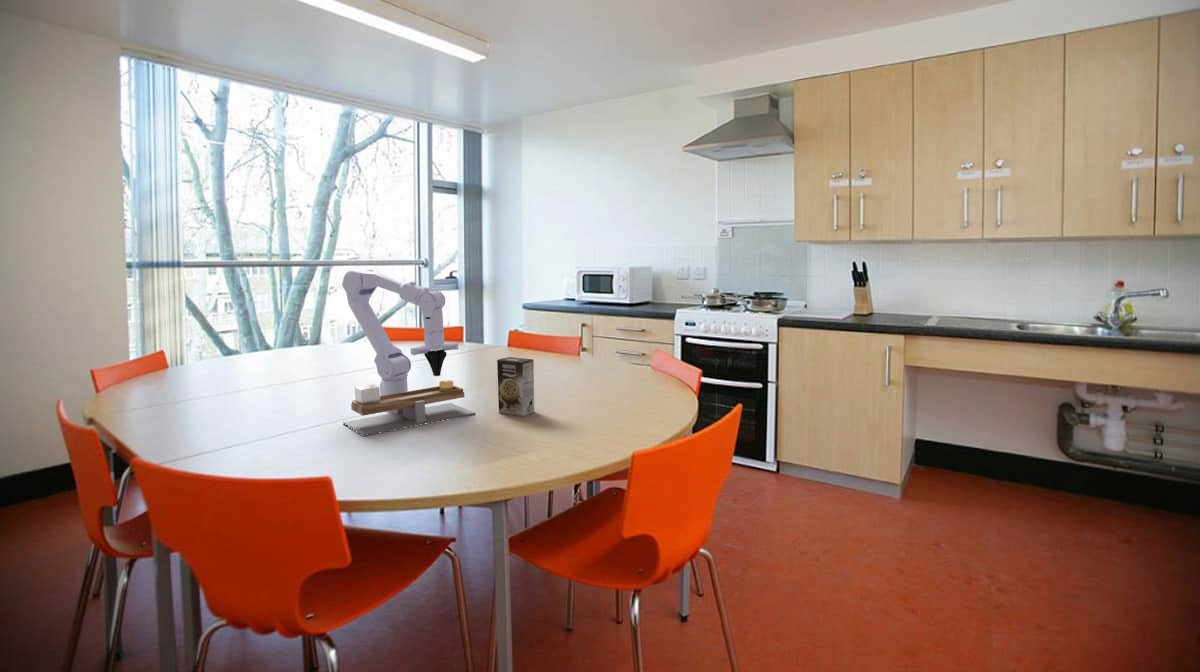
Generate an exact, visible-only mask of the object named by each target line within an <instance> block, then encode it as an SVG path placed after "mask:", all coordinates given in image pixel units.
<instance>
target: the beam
mask: <svg viewBox="0 0 1200 672" xmlns="http://www.w3.org/2000/svg"><path fill="white" fill-rule="evenodd" d="M453 388H454V390H452V391H446V392H440V385H438V386H432V387H426V388H420V389H419V388H418V389H415V390H408V391H407V392H401V393H395V394H389V395H383V396H380V403H377V404H371V405H365V406H364V405H362V404H360V403H358V402H356V399H355V400H354V399H353V400H352V401H351V404H350V408H351V411H353V412H355V413H357V414H359V415H361V416H362V417H363V416H368V415H375V414H379V413H380V414H381V413H384V412H392V411H396V410H397V409H402V408H408V407H413V406H415V402H416V401H422V400H423V401H425V405H428V404H435V403H440V402H447V401H450V400H457V399H462V398H465V397H466V396H465V392H464V388H463V387H459V386H456V385H455V384H453Z"/></svg>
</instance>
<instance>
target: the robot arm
mask: <svg viewBox="0 0 1200 672" xmlns="http://www.w3.org/2000/svg"><path fill="white" fill-rule="evenodd" d="M341 286H342V289H343V290H344V292H345V294H346V297H347V298H346V299H347V303H348V304H347V305H348V306H349V308H350V310H351V312H352V314H353V315H354V317H355V319H356V320H357V322H358V324H359V326H360V328H361V329H362V330H363V332H364V334H365V336H366V338H367V340H368V341H369V343H370V345H371V346H372V349H374V351H375V353H376V355H375V357H374V359H373V362H374V363H375V366H376V370H377V374H378V376H380V378H381V381H380V383H379V390H380V396H383V395H389V394H395V393H401V392H407V391H409V389H408V374H409V372H410V371H411V368H412V362H411V360H410V358H409V356H407V355H405V353H403V350H402V349H400V348H398V347H397V346H395V345H394V344H393V343H392V341H391V339H390V338H389V336H388V334H387V333H386V331H385V329H384V327H383V325H382V324H381V322H380V320H379V319H378V317H377V314H376V313H375V311H374V310H373V308H372V306H371V305H370V304H371V303H369V302H370V299H371V297H372V296H373V294H374V292H375V291H376V290H377V288H381V289H384V290H387V291H389V292H393V293H395V294H398V295H399V297H400V300H403V301H405V302H408V303H410V304H413V305H415V306H418V307H419V309H420V311H421V315H422V322H423V334H424V345H421V346H417V347H411V348H410V355H411V356H418V355H422V354H423V355H424V357H425V358H426V360H427V361H428V364H429V366H430V368H431V371H432V376H434V377H441V372H442V368H443V363H444V361H445V359H446V357H447V352H446V351H452V350H459V343H458V342H449V343H448V342H447V343H445V333H444V318H443V315H444V314H443V308H444V306H445V304H446V297H445V295H444V293H442V292H441V291H439V290H438V289H434V290H432V291H431V290H430V288H429V287H427V286H426V287H423V286H421V285H419V284H417V282H416V281H414V280H412V281H407V282H404V283H403V282H400V281H398V280H396V279H394V278H392V277H390V276H387V275H385V274H382V273H381V272H379V271H375V270H373V269H366V270H349V271H347V272H346V273H345V274H344V276H343V280H342V284H341Z"/></svg>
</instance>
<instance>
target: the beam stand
mask: <svg viewBox="0 0 1200 672" xmlns="http://www.w3.org/2000/svg"><path fill="white" fill-rule="evenodd" d="M475 415H476V412H475V411H472V410H470V409H467V408H465V407H463V406H460V405H457V404H454V403H452V402H449V403H448V402H447V403H443V404H438V405H437V404H436V405H431V406H427V407H426V404H425V401H423V400H422V401H416V402H415V406H413V407H408V408H402V409H397V410H395V412H391V413H387V414H381V415H374V416H369V417H364V418H358V419H352V420H345V421H342V424H343V423H344V424H346V425H347V426H349V427H350V428H352V429H354V430H355V431H357V432H358V433H360V434H362V435H367V434H373V435H375V434H374V433H378V434H380V433H379V432H383V433H386V432H385V431H388V432H391V431H390V430H394V429H399V430H401V429H400V428H404V427H409V428H411V427H410V426H414V427H416V426H415V425H419V426H421V425H420V424H424V425H426V424H425V423H430V424H432V423H431V422H435V423H438V422H437V421H440V422H443V421H442V420H445V421H448V420H447V419H450V420H454V418H455V419H459V417H460V418H465V416H466V417H469V416H475ZM344 424H343V425H344ZM347 426H346V427H347ZM350 428H349V429H350ZM352 429H351V430H352ZM404 429H405V428H404ZM355 431H354V432H355ZM394 431H395V430H394ZM358 433H357V434H358ZM360 434H359V435H360Z"/></svg>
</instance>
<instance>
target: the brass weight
mask: <svg viewBox="0 0 1200 672" xmlns="http://www.w3.org/2000/svg"><path fill="white" fill-rule="evenodd" d="M453 385H454V381H453V380H451V379H450V380H448V379H447V380H441V381H439V383H438V386H440V392H446V391H452V390H454V388H453Z"/></svg>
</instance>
